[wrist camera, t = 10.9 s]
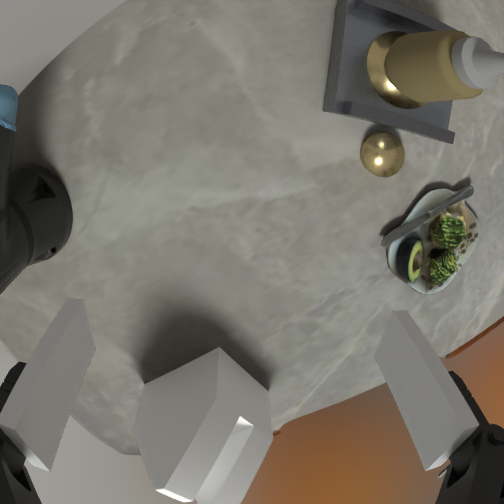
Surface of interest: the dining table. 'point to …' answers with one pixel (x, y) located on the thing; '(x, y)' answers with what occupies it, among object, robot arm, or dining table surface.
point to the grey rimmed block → (379, 69)
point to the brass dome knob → (382, 154)
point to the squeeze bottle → (442, 65)
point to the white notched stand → (204, 430)
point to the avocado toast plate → (433, 240)
